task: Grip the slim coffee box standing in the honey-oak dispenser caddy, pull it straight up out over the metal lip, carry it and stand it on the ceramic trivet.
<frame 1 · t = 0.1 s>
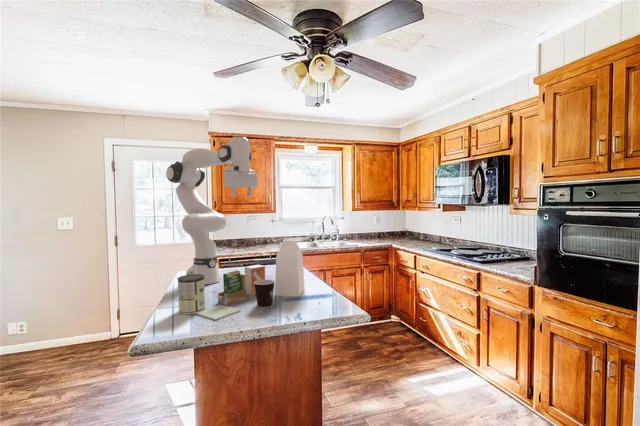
hand: (241, 196, 160), 48 cm above the countertop, tool pointing down, fingers open, 8 cm apart
coffee mug: (267, 304, 139), on the countertop
small box: (255, 292, 157), on the countertop
milk: (290, 292, 156), on the countertop
caddy: (232, 300, 144), on the countertop
coffee box: (232, 301, 144), resting in caddy
trivet: (218, 312, 128), on the countertop
coffee can: (192, 310, 132), on the countertop
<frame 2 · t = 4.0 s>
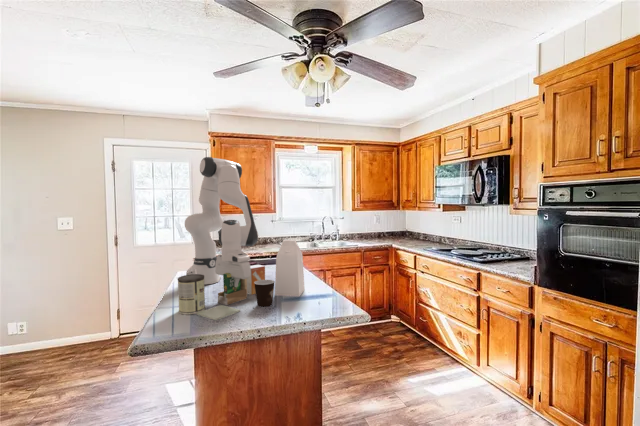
hand: (232, 286, 144), 7 cm above the countertop, tool pointing down, fingers closed on coffee box, 3 cm apart
coffee box: (232, 301, 144), resting in caddy, touching gripper
everything else where it was.
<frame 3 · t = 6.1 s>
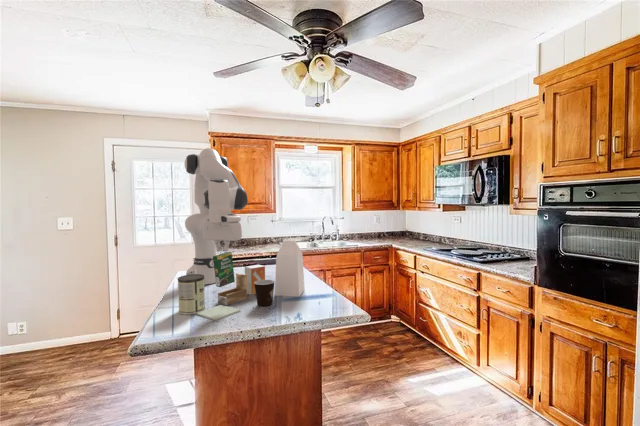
hand: (222, 251, 132), 25 cm above the countertop, tool pointing down
coffee box: (225, 284, 133), point 10 cm above the countertop
everything else where it was.
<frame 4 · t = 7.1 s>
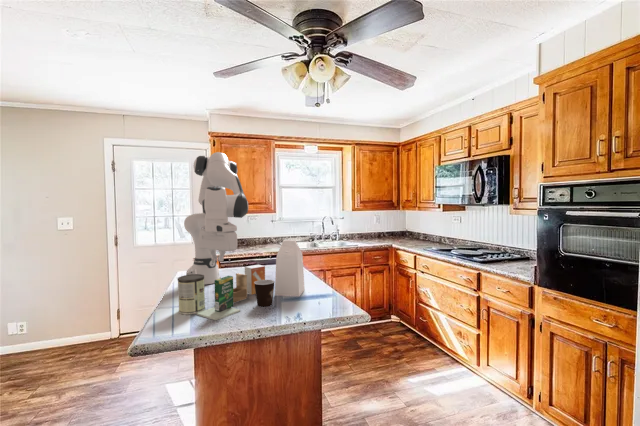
hand: (217, 260, 128), 21 cm above the countertop, tool pointing down, fingers closed
coffee box: (224, 309, 131), resting on trivet
everything else where it was.
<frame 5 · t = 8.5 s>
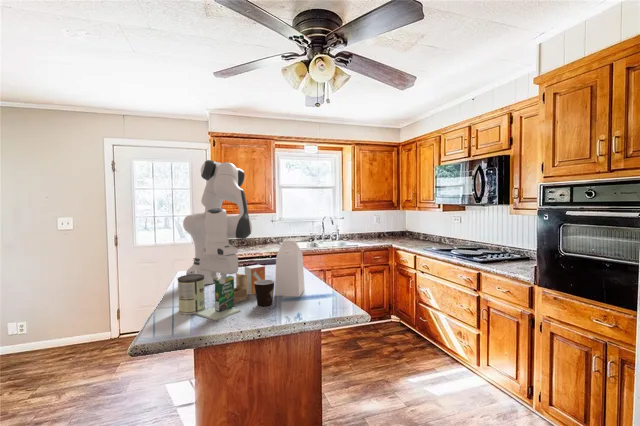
hand: (218, 283, 127), 12 cm above the countertop, tool pointing down, fingers open, 3 cm apart
nothing on the countertop moved.
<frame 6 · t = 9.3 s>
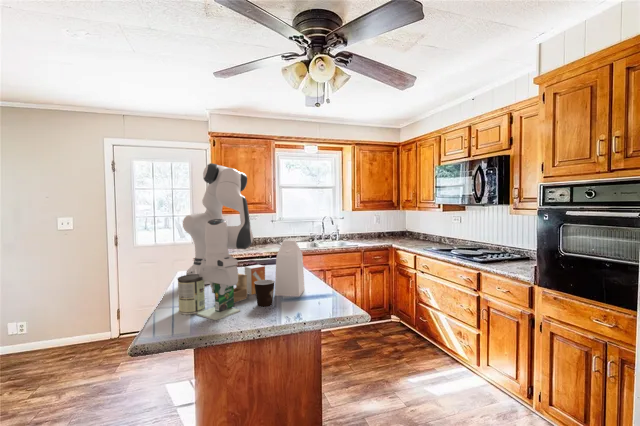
hand: (218, 293, 128), 8 cm above the countertop, tool pointing down, fingers closed on coffee box, 3 cm apart
coffee box: (224, 309, 131), resting on trivet, touching gripper
everything else where it was.
when the fingers open (8 cm above the countertop, at t = 9.7 s): coffee box stays where it is, resting on trivet.
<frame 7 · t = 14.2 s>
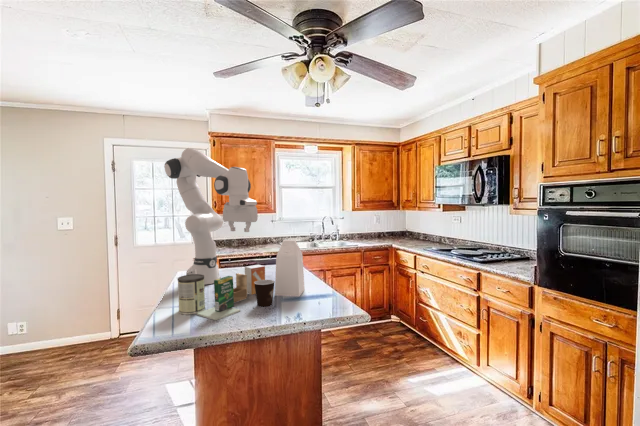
hand: (239, 231, 147), 31 cm above the countertop, tool pointing down, fingers open, 8 cm apart
coffee box: (224, 309, 131), resting on trivet
everything else where it was.
at the end: coffee box inside the target area (3.1 cm from its centre), resting on trivet; coffee box tilted 0°; the gripper is holding nothing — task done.
